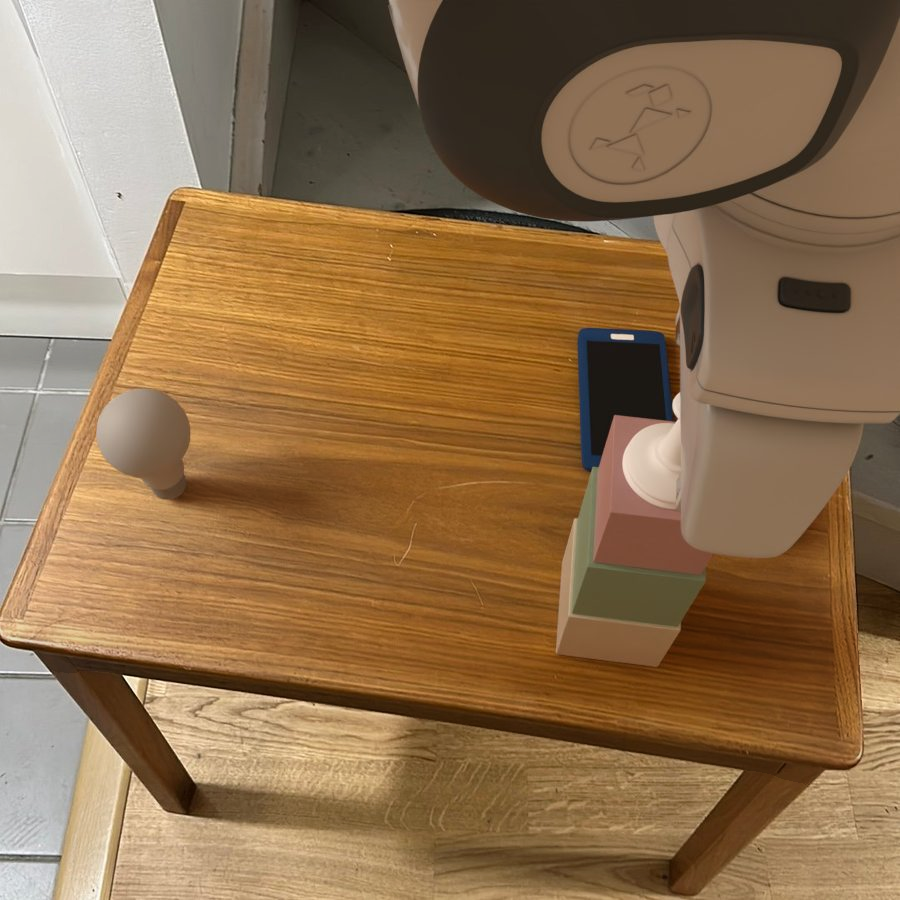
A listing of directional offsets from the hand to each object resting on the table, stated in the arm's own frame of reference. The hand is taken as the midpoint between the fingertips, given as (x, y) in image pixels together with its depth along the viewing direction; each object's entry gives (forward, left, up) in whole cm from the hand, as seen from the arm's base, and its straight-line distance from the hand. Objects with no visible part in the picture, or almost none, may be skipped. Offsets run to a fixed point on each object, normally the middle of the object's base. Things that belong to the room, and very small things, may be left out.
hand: (692, 414), depth 44 cm
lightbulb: (-28, +19, -25) cm, 42 cm away
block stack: (0, 0, -25) cm, 25 cm away
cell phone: (+8, +17, -25) cm, 31 cm away
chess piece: (0, 0, -5) cm, 5 cm away
